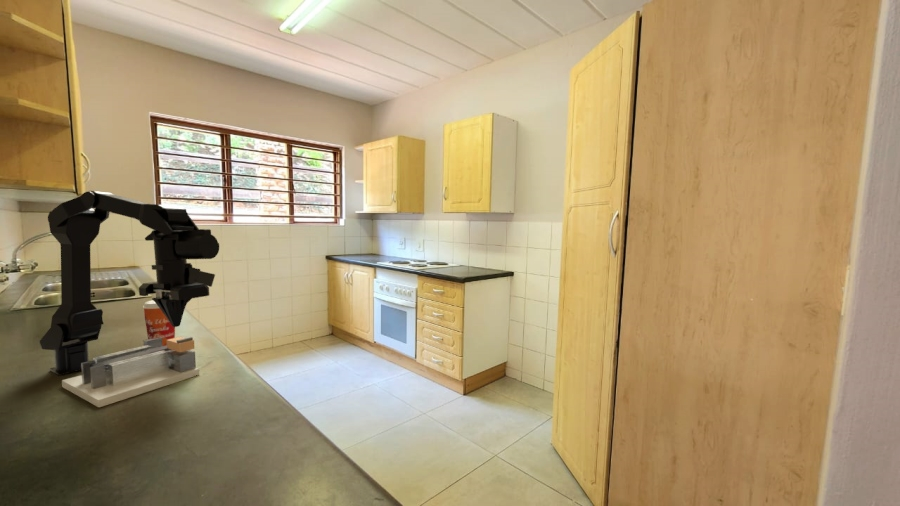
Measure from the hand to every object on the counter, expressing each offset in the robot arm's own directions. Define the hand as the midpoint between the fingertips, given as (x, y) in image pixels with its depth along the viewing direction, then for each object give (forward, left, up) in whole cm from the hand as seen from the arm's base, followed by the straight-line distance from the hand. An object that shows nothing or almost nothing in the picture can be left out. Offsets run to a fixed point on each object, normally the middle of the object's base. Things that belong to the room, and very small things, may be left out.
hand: (176, 326), depth 84 cm
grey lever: (-7, -5, -7) cm, 11 cm away
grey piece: (-7, -5, -11) cm, 14 cm away
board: (-7, -6, -12) cm, 15 cm away
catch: (-1, +1, -6) cm, 6 cm away
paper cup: (-26, +8, -12) cm, 30 cm away
